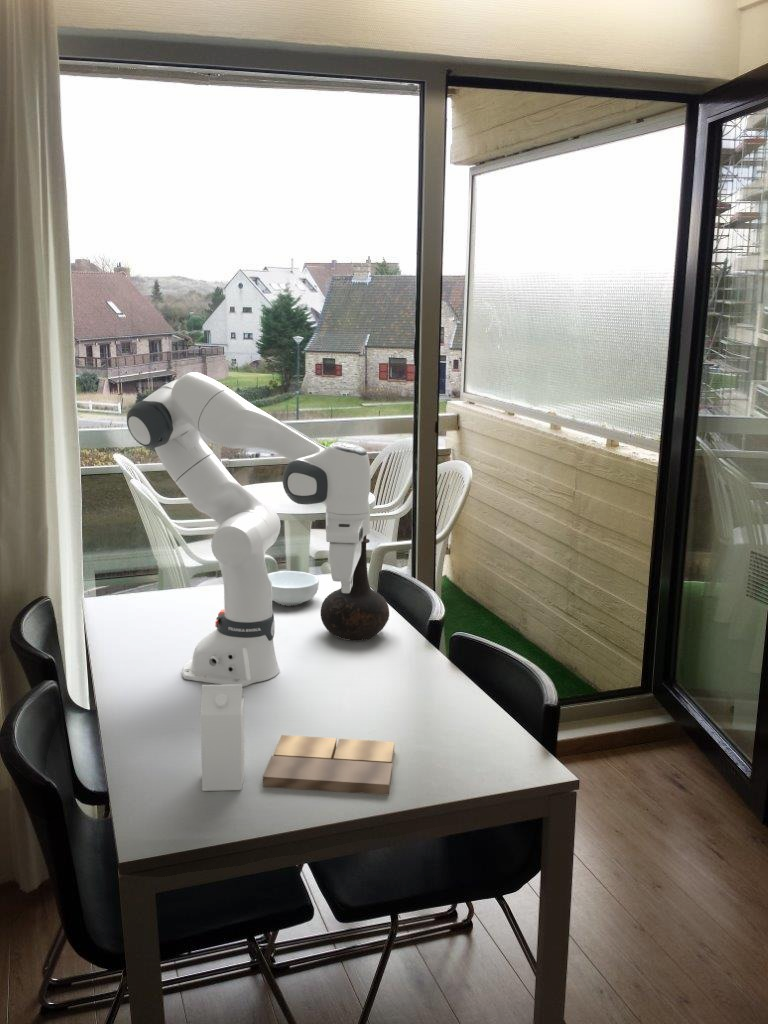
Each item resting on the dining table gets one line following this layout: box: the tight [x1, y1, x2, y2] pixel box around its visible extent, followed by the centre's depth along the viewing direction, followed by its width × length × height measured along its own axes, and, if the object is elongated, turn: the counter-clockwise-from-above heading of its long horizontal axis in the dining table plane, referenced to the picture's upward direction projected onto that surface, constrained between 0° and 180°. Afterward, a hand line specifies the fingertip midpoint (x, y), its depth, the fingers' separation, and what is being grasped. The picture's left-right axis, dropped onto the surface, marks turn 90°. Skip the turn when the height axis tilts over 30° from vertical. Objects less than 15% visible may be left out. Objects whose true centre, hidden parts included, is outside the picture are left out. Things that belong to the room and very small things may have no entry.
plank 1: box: [273, 734, 338, 759], centre depth 181 cm, size 11×8×2 cm
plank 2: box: [333, 738, 395, 764], centre depth 180 cm, size 11×8×2 cm
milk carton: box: [199, 684, 245, 792], centre depth 169 cm, size 7×7×19 cm
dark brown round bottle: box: [320, 535, 390, 642], centre depth 243 cm, size 18×18×28 cm
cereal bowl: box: [267, 570, 320, 607], centre depth 272 cm, size 17×17×7 cm
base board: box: [262, 755, 393, 795], centre depth 172 cm, size 23×8×2 cm, turn 85°
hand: (346, 590), depth 189 cm, fingers closed
